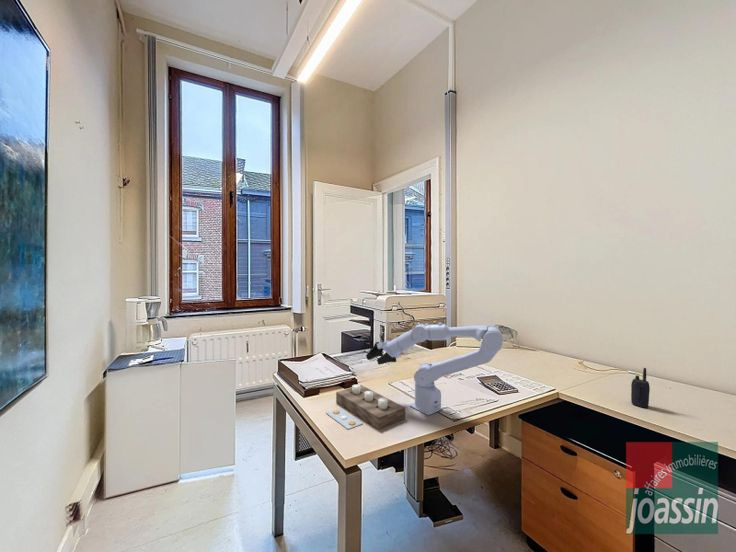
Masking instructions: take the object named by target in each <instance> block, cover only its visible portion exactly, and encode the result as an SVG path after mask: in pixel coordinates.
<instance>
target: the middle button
mask: <svg viewBox="0 0 736 552" xmlns="http://www.w3.org/2000/svg"><path fill="white" fill-rule="evenodd" d="M372 391H373V390H372ZM372 391H366V392H365V401H366V402H371V401H373V392H372Z"/></svg>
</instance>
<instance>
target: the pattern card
mask: <svg viewBox="0 0 736 552" xmlns="http://www.w3.org/2000/svg"><path fill="white" fill-rule="evenodd" d="M326 413H327V414H328V415H327V414H326V415H327V416H329V417H330V416H331V417H332V418H331V417H330V418H331V419H333V420H334V419H335V420H334V421H335V422H337V423H338V422H339V423H338V424H339V425H341V426H342V425H343V428H345V429H347V430H348V429H349V430H352V429H353V428H356V427H359V426H361V425H364V423H363V422H362V421H360V420H359V419H358V418H356V417H354V416H353V415H351V414H350V413H348V412H347V411H345V410H343V409H342V408H337V409H334V410H331V411H328V412H326Z"/></svg>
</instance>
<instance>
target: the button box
mask: <svg viewBox="0 0 736 552" xmlns="http://www.w3.org/2000/svg"><path fill="white" fill-rule="evenodd" d="M359 385H360V394H358V395H354V394H352V387H349V388H345V389H343V390H339V391H336V392H335V395H336V396H335V399H336V401H335V403H337V404H338V403H339V405H340V406H341V407H343V406H344V407H343V408H345V410H348V411H349V412H350V413H352V414H354V415H355V416H357V417H358V418H360V419H362V420H364V422H365V423H368V424H370V425H371V426H372V427H374V428H376V429H377V430H382V429H383V428H386V427H388V426H391V425H393V424H395V423H399V422H400V421H403V420H406V407H405V406H403V405H401V404H399V403H397V402H395V401H393V400H391V399H389V398H388V397H385V396H383V395H382V394H379V393H378V392H376V391H374V390H372V389H370V388H367V387H366V386H364V385H362V384H359ZM366 391H372V392H373V401H371V402H366V401H365V392H366ZM380 398H386V399H387V409H386V410H383V411H382V410H380V409H378V399H380Z"/></svg>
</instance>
